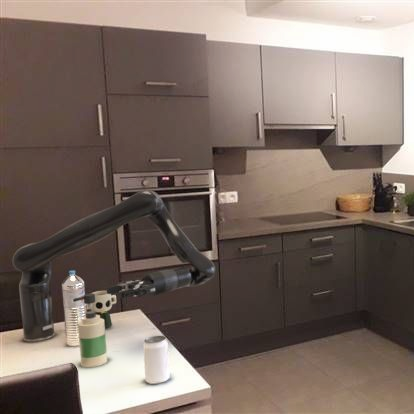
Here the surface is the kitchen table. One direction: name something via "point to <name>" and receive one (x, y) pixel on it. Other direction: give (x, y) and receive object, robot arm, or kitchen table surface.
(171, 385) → the kitchen table surface
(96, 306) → the character mug
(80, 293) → the water bottle
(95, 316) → the dispenser
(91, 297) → the pump head
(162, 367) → the can
